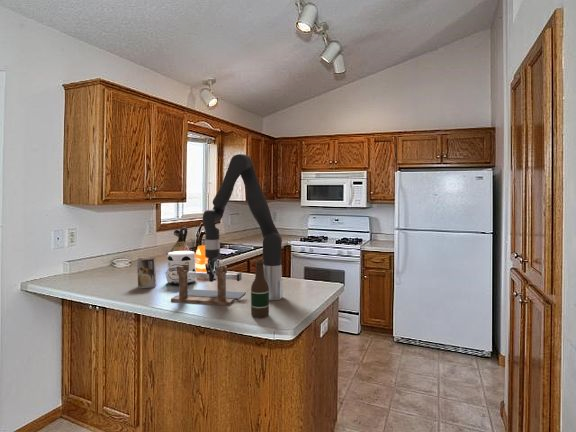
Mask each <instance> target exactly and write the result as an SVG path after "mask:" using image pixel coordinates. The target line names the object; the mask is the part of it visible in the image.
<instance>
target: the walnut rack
mask: <svg viewBox="0 0 576 432" xmlns="http://www.w3.org/2000/svg"><path fill="white" fill-rule="evenodd" d="M188 271H189V264H182V266H177V274H179V285H178V295H175V296H174V297H171V299H170V302H171V303H182V304H183V303H187V304H199V305H200V304H202V305H213V306H214V305H215V306H216V305H218V306H231V305H232V304H233V303H234V302H235V299H228V298H226V291H227V288H226V287H227V285H226V284H227V282H226V281H227V279H226V273H228V266H227V265H219V267H218V268H216V276H217V279H216V280H217V291H218V298H212V297H195V296H188V290H189V289H188V284H187V272H188Z"/></svg>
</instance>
